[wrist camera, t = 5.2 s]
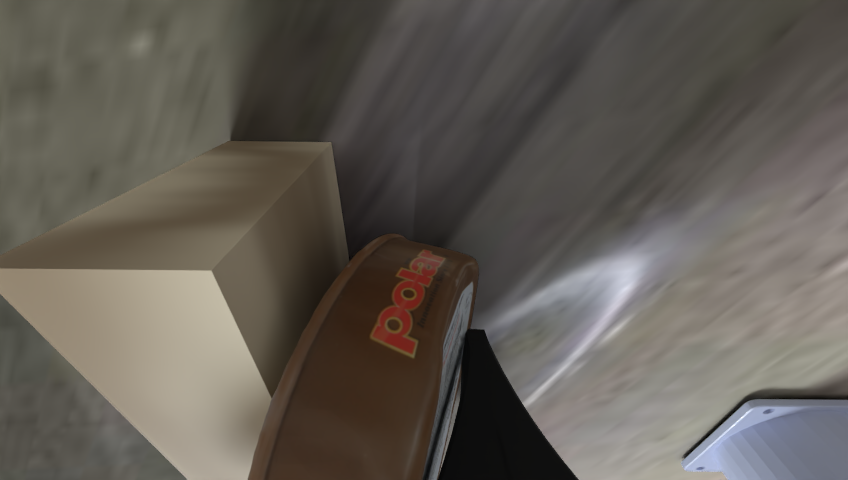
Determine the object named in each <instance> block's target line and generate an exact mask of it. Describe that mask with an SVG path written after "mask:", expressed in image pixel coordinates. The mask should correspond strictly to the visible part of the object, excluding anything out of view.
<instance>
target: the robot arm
mask: <svg viewBox="0 0 848 480" xmlns="http://www.w3.org/2000/svg"><path fill="white" fill-rule="evenodd" d="M681 465H682V466H683V468H684V470H686V471H721V472H723V473H724V475H725V476H726V478H727V479H728V480H848V400H819V399H754V400H750V401H748V402H746V403H744V404H743V405H742V406H741V407H740V408H739V409H738V410H737V411H736V412H735V413H733V414H732V415H731V416H730V417H729V418H728V419H727V420H726V421H725V422H724V423H723V424H722V425H721V426H719V427H718V428H717V429H716V430H715V431H714V432H713V433H712V434H711V435H710V436H709V437H708V438H706V439H705V440H704V441H703V442H702V443H701V444H700V445H699V446H698V447H697V448H696V449H695V450H694V451H692V452H691V453H690V454H689V455H688V456H687V457H686V458H685V459H684V460H683V461H682V462H681ZM438 480H578V478H577V477H576V476H575V475H574V474H573V472H572V471H571V470H570V469H569V467H568V466H567V465H566V464H565V463H564V461H563V460H562V459H561V458H560V456H559V455H558V454H557V452H556V451H555V450H554V448H553V447H552V446H551V444H550V443H549V442H548V440H547V439H546V438H545V436H544V435H543V433H542V432H541V431H540V429H539V428H538V426H537V425H536V424H535V422H534V421H533V419H532V418H531V416H530V415H529V413H528V412H527V410H526V409H525V407H524V405H523V404H522V402H521V401H520V399H519V398H518V396H517V394H516V393H515V391H514V389H513V388H512V386H511V384H510V382H509V381H508V379H507V377H506V375H505V373H504V372H503V370H502V368H501V366H500V364H499V362H498V360H497V358H496V356H495V354H494V352H493V350H492V348H491V346H490V344H489V341H488V339H487V337H486V334H485V331H484V330H477V329H468V330H467V331H466V334H465V341H464V348H463V355H462V362H461V394H460V402H459V406H458V411H457V415H456V419H455V423H454V427H453V431H452V435H451V438H450V442H449V445H448V448H447V452H446V455H445V459H444V462H443V465H442V468H441V471H440V474H439V477H438Z"/></svg>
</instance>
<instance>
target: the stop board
mask: <svg viewBox="0 0 848 480" xmlns="http://www.w3.org/2000/svg"><path fill="white" fill-rule="evenodd" d="M348 263H349V255H348V248H347V242H346V235H345V229H344V222H343V215H342V209H341V202H340V196H339V189H338V182H337V176H336V169H335V163H334V156H333V149H332V143H331V142H275V141H228V142H226V143H224V144H222V145H220V146H218V147H216V148H214V149H212V150H210V151H208V152H206V153H204V154H202V155H200V156H198V157H196V158H194V159H192V160H190V161H188V162H186V163H184V164H182V165H180V166H178V167H176V168H174V169H172V170H170V171H168V172H166V173H164V174H162V175H160V176H158V177H156V178H154V179H152V180H150V181H148V182H146V183H144V184H142V185H140V186H138V187H136V188H134V189H132V190H130V191H128V192H126V193H124V194H122V195H120V196H118V197H116V198H114V199H112V200H110V201H108V202H106V203H104V204H102V205H100V206H98V207H96V208H94V209H92V210H90V211H88V212H86V213H84V214H82V215H80V216H78V217H76V218H74V219H72V220H70V221H68V222H66V223H64V224H62V225H60V226H58V227H56V228H54V229H52V230H50V231H48V232H46V233H44V234H42V235H40V236H38V237H36V238H34V239H32V240H30V241H28V242H26V243H24V244H22V245H20V246H18V247H16V248H14V249H12V250H10V251H8V252H6V253H4V254H2V255H0V294H1V295H2V296H3V297H4V298H5V299H6V300H7V301H8V302H9V303H10V304H11V305H12V306H13V307H14V308H15V309H16V310H17V311H18V312H19V313H20V314H21V315H22V316H23V317H24V318H25V319H26V320H27V321H28V322H29V323H30V324H31V325H32V326H33V327H34V328H35V329H36V330H37V331H38V332H39V333H40V334H41V335H42V336H43V337H44V338H45V339H46V340H47V341H48V342H49V343H50V344H51V345H52V346H53V347H54V348H55V349H56V350H57V351H58V352H60V353H61V354H62V355H63V356H64V357H65V358H66V359H67V360H68V361H69V362H70V363H71V364H72V365H73V366H74V367H75V368H76V369H77V370H78V371H79V372H80V373H81V374H82V375H83V376H84V377H85V378H86V379H87V380H88V381H89V382H90V383H91V384H92V385H93V386H94V387H95V388H96V389H97V390H98V391H99V392H100V393H101V394H102V395H103V396H104V397H105V398H106V399H107V400H108V401H109V402H110V403H111V404H112V405H113V406H114V407H115V408H116V409H117V410H118V411H119V412H120V413H121V414H122V415H123V416H124V417H125V418H126V419H127V420H128V421H129V422H130V423H131V424H132V425H133V426H134V427H135V428H136V429H137V430H138V431H139V432H140V433H141V434H142V435H143V436H144V437H145V438H146V439H147V440H148V441H149V442H150V443H151V444H152V445H153V446H154V447H155V448H156V449H157V450H158V451H159V452H160V453H161V454H162V455H163V456H164V457H165V458H166V459H167V460H169V461H170V462H171V463H172V464H173V465H174V466H175V467H176V468H177V469H178V470H179V471H180V472H181V473H182V474H183V475H184V476H185V477H186V478H187V479H188V480H248V476H249V472H250V469H251V465H252V460H253V456H254V452H255V449H256V446H257V443H258V439H259V435H260V432H261V429H262V426H263V423H264V420H265V417H266V414H267V412H268V409H269V406H270V402H271V400H272V398H273V395H274V393H275V391H276V389H277V387H278V385H279V382H280V380H281V377H282V375H283V372H284V370H285V367H286V365H287V363H288V361H289V360H290V358H291V356H292V354H293V352H294V350H295V348H296V346H297V344H298V341H299V339H300V337H301V335H302V332H303V331H304V329H305V328H306V326H307V325H308V323H309V321H310V319H311V317H312V315H313V313H314V311H315V309H316V308H317V306H318V304H319V303H320V301H321V299H322V298H323V296H324V295H325V293H326V292H327V291H328V289H329V288H330V287H331V285H332V284H333V282H334V280H335V279H336V278H337V277H338V275H339V274H340V273H341V272H342V270H343V269H344V268H345V266H346V265H347V264H348Z"/></svg>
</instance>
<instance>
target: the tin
mask: <svg viewBox="0 0 848 480" xmlns="http://www.w3.org/2000/svg"><path fill="white" fill-rule="evenodd" d="M478 276H479V267H478V263H477V261H476V260H475V259H474V258H472V257H471V256H468V255H466V254H463V253H460V252H456V251H453V250H449V249H445V248H440V247H436V246H431V245H427V244H423V243H418V242H414V241H410V240H407V239H406V238H405V237H403V236H401V235H399V234H385V235H382V236H380V237H378V238H376V239H374V240H373V241H371V242H370V243H368V244H367V245H366V246H365V247H364V248H363V249H362V250H360V251H359V252H357V253H356V255H355V256H354V257H353V258H352V259H351V260H350V261H349V263H348V264H347V265H346V266H345V268H344V269H343V270H342V272H341V273H340V274H339V275H338V277H337V278H336V279H335V280H334V282H333V284H332V285H331V287H330V288H329V289H328V291H327V292H326V293H325V295H324V296H323V298H322V299H321V301H320V303H319V304H318V306H317V308H316V309H315V311H314V313H313V315H312V317H311V319H310V321H309V323H308V325H307V326H306V328H305V329H304V331H303V332H302V335H301V337H300V339H299V341H298V344H297V346H296V348H295V350H294V352H293V354H292V356H291V358H290V360H289V361H288V363H287V365H286V367H285V370H284V372H283V375H282V377H281V380H280V382H279V385H278V387H277V389H276V391H275V393H274V395H273V398H272V400H271V402H270V406H269V409H268V412H267V414H266V417H265V420H264V423H263V426H262V429H261V432H260V435H259V439H258V443H257V446H256V449H255V452H254V456H253V460H252V465H251V469H250V472H249V476H248V480H438V477H439V472H440V468H441V463H442V459H443V454H444V450H445V446H446V441H447V437H448V432H449V427H450V422H451V418H452V413H453V408H454V404H455V400H456V395H457V391H458V386H459V382H460V377H461V362H462V355H463V348H464V341H465V334H466V331H467V330H468V329H470V326H471V320H472V315H473V309H474V303H475V297H476V291H477V284H478Z"/></svg>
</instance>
